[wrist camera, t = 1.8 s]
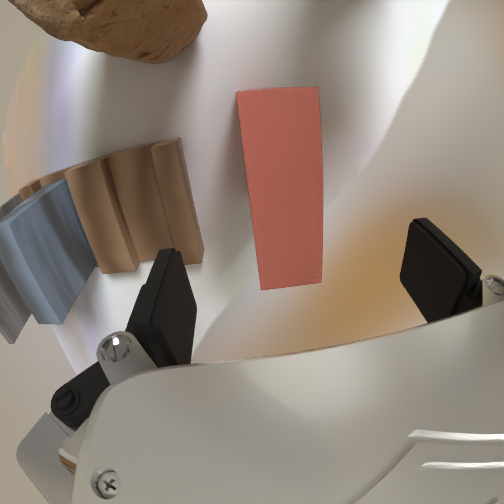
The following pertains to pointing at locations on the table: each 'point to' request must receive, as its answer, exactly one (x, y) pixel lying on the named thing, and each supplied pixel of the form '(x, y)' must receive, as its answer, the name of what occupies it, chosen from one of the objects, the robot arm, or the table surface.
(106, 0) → the block
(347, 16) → the table surface
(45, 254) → the book stand
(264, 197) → the book
